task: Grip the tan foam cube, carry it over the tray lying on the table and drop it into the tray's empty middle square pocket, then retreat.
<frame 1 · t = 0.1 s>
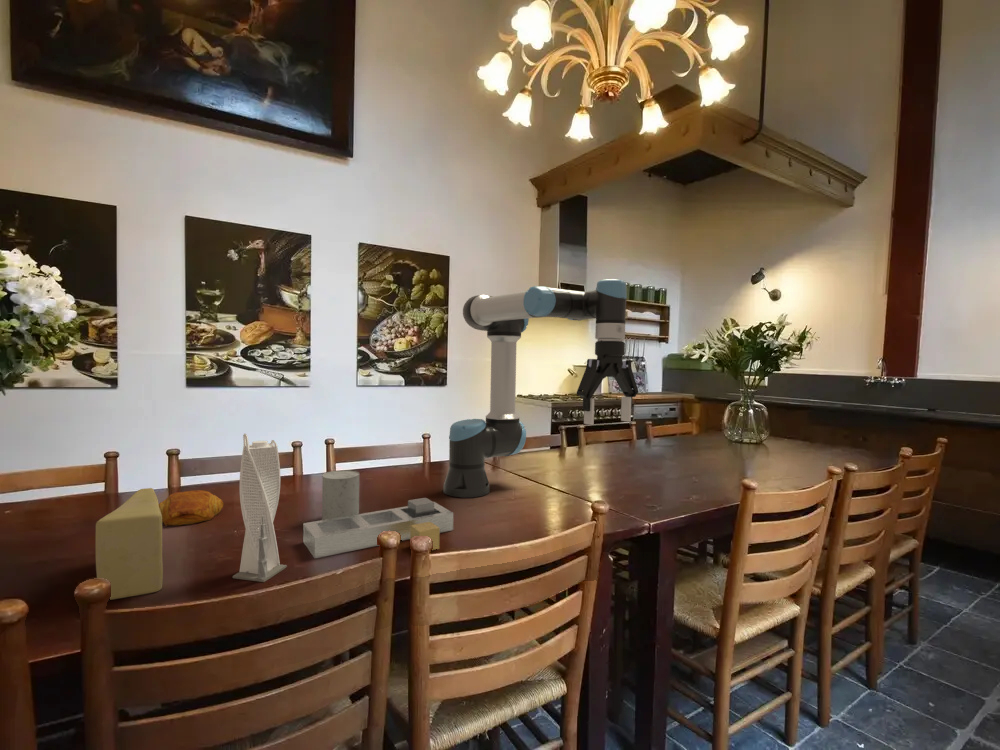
hand: (607, 422, 127), 28 cm above the table, fingers open, 13 cm apart
grey flat-topped mottled cylinder: (340, 520, 132), on the table
skyscraper: (259, 571, 100), on the table
croissant: (188, 519, 131), on the table
tan foam cube: (424, 547, 114), on the table
tray: (381, 535, 121), on the table
cheese: (140, 574, 98), on the table
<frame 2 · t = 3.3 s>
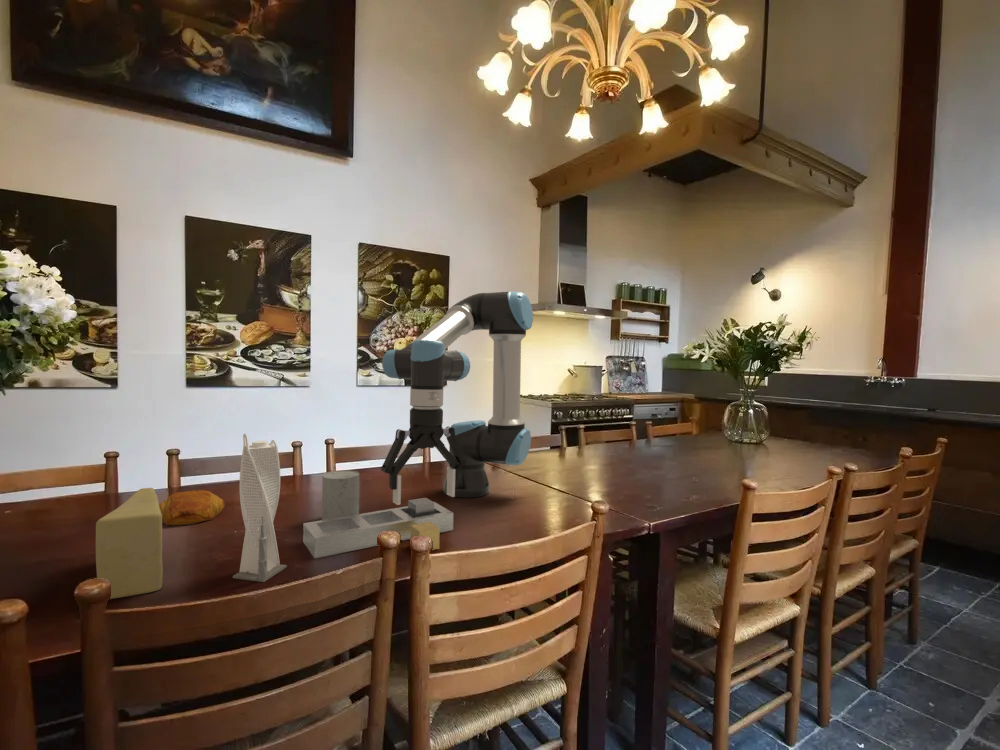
hand: (424, 499, 113), 11 cm above the table, fingers open, 13 cm apart
nothing on the table moved.
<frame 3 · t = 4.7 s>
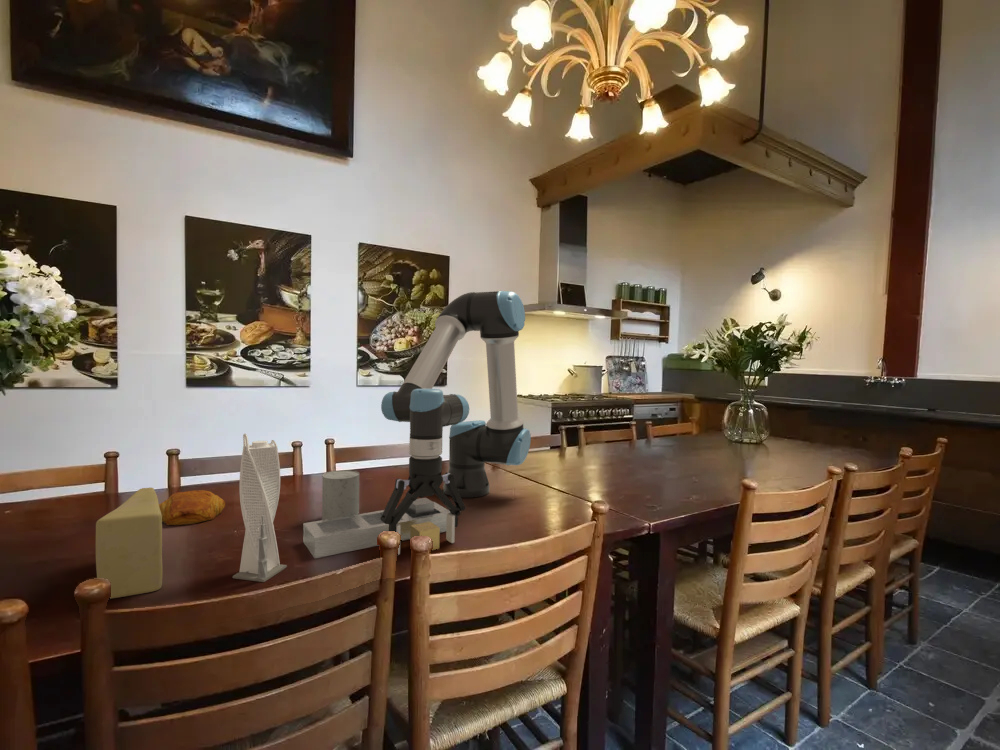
hand: (424, 547, 114), 0 cm above the table, fingers open, 13 cm apart
nothing on the table moved.
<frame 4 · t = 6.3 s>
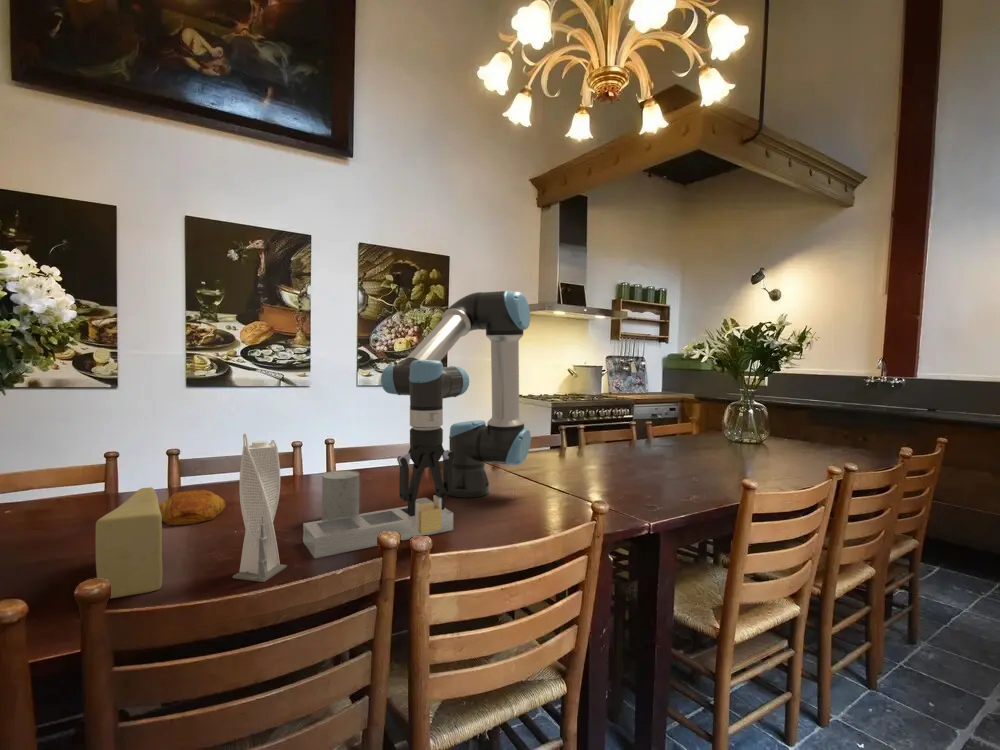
hand: (426, 526, 114), 5 cm above the table, fingers closed on tan foam cube, 5 cm apart
tan foam cube: (426, 528, 114), point 4 cm above the table, touching gripper
everything else where it was.
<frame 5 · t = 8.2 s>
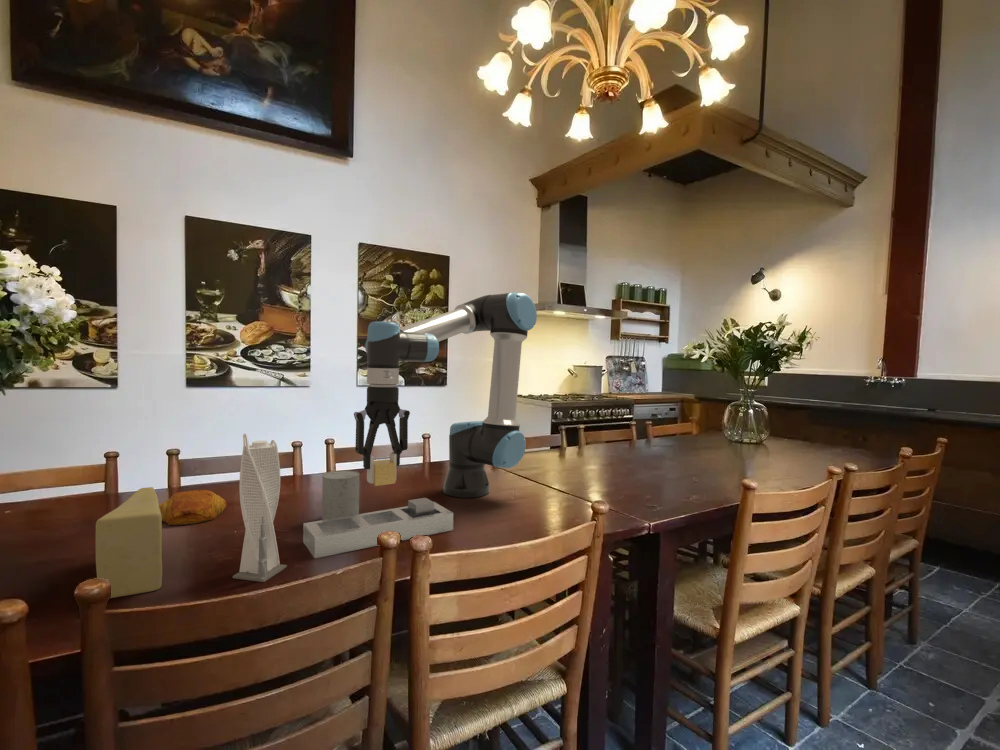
hand: (381, 480, 120), 14 cm above the table, fingers closed on tan foam cube, 5 cm apart
tan foam cube: (381, 482, 120), point 13 cm above the table, touching gripper
everything else where it was.
when the fingers open (5 cm above the table, at t = 10.3 s): tan foam cube drops 3 cm, resting on tray.
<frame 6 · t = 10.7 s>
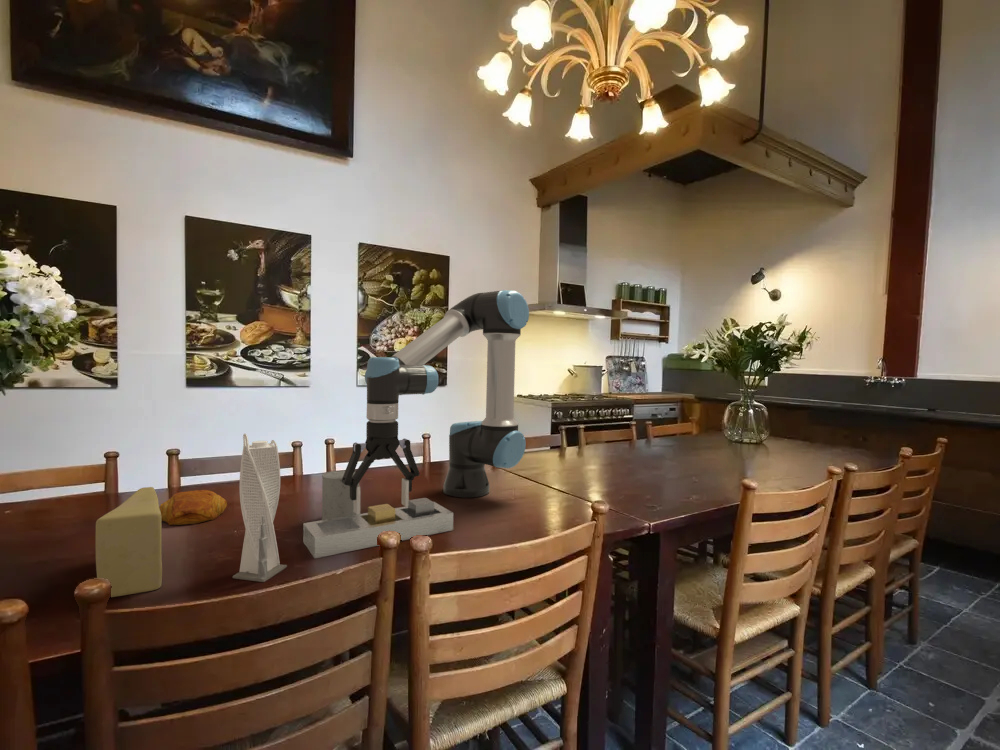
hand: (381, 508, 120), 7 cm above the table, fingers open, 11 cm apart
tan foam cube: (381, 528, 120), point 2 cm above the table, touching tray
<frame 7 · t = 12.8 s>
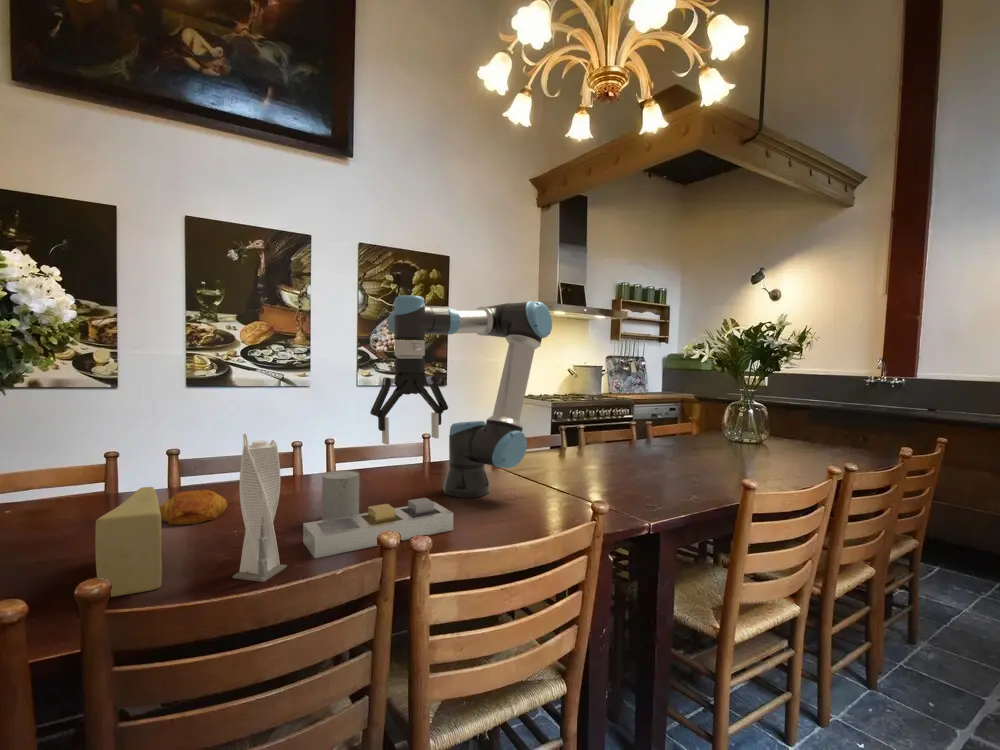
hand: (411, 440, 126), 23 cm above the table, fingers open, 13 cm apart
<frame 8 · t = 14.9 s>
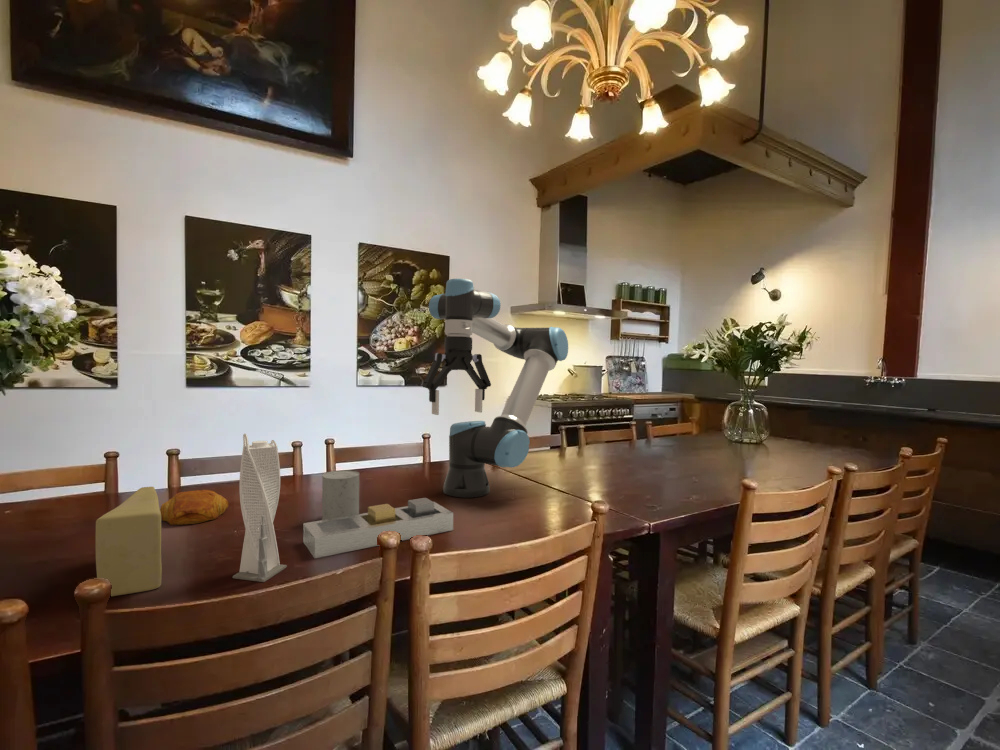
hand: (457, 413, 136), 29 cm above the table, fingers open, 13 cm apart
at the end: tan foam cube 0.1 cm off-centre on the tray, point 2.0 cm above the tray's base; the gripper is holding nothing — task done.
